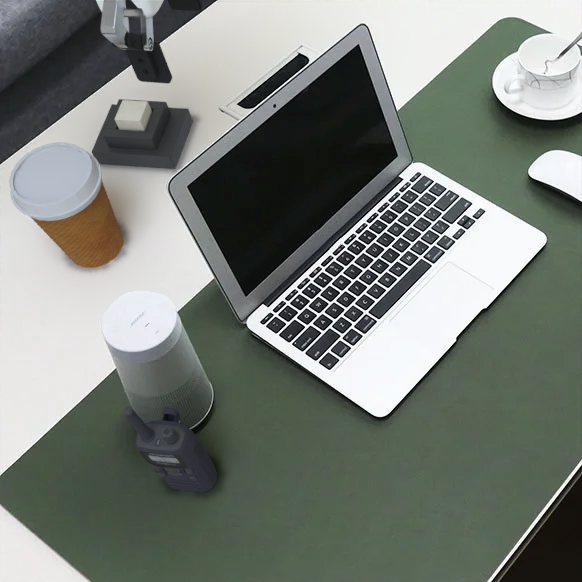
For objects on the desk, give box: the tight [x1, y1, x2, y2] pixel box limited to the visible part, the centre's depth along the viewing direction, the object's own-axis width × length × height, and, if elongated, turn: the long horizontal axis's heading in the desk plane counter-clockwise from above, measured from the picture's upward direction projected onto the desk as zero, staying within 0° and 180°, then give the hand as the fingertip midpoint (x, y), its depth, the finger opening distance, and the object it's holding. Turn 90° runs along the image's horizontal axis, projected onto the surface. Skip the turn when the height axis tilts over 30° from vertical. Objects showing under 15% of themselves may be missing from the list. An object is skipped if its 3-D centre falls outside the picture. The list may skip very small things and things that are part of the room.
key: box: [115, 99, 152, 131], centre depth 99 cm, size 3×3×2 cm
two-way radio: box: [122, 406, 219, 493], centre depth 75 cm, size 6×4×15 cm
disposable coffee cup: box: [8, 141, 124, 269], centre depth 91 cm, size 10×10×12 cm
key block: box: [91, 98, 194, 170], centre depth 101 cm, size 10×8×4 cm
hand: (172, 43), depth 78 cm, fingers open, 9 cm apart
